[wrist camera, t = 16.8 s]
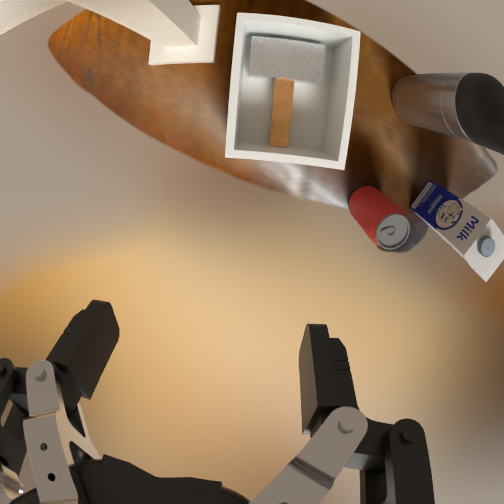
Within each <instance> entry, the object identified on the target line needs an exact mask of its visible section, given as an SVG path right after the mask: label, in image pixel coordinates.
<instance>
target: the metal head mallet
mask: <svg viewBox="0 0 504 504" xmlns="http://www.w3.org/2000/svg"><path fill="white" fill-rule="evenodd" d="M324 58H325V45H320V44H314V43H309V42H302V41H296V40H289V39H280V38H271V37H260V36H252V39H251V50H250V61H249V72H248V76H249V78H256V79H268V80H274V89H273V100H272V111H271V121H270V132H269V142H268V144H269V146H275V147H285V148H288V141H289V131H290V122H291V112H292V102H293V92H294V83H301V84H308V85H314V86H317V85H320V84H322V80H323V69H324Z"/></svg>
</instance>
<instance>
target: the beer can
mask: <svg viewBox="0 0 504 504" xmlns="http://www.w3.org/2000/svg"><path fill="white" fill-rule="evenodd" d="M349 210H350V213H351V215H352V216H353V217H354V218H355V220H356V221H357V222H358V224H359V225H360V226H361V227H362V229H363V230H364V231H365V233H366V234H367V235H368V237H369V238H370V239H371V240H372V241H373V242H374V243H375V244H377V245H379V246H381V247H382V248H384V249H389V250H391V249H395V248H397V247H399V246H401V245H402V244H403V243H404V242H405V241H406V239H407V238H408V235H409V232H410V225H409V221H408V220H407V218H406V215H405V213H404V212H403V210H402V209H401V208H400V207H399V206H398V205H396V204H395V203H394V202H393V201H391V200H390V199H389V198H388V197H387V196H385V195H384V194H383V193H382V192H380V191H379V190H378V189H376V188H375V187H372V186H362V187H360V188H358V189H357V190H356V191H355V192H353V194H352V196H351V197H350V201H349Z"/></svg>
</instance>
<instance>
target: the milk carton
mask: <svg viewBox="0 0 504 504" xmlns="http://www.w3.org/2000/svg"><path fill="white" fill-rule="evenodd" d="M410 208H411V209H412V210H413V211H414V212H415V213H416V214H417V215H418V216H419V217H420V218H421V219H422V220H423V221H424V222H425V223H426V224H427V225H428V226H429V227H431V228H432V229H433V230H434V231H435V232H436V233H437V234H438V235H439V236H441V237H442V238H443V239H444V240H445V241H446V242H447V243H448V244H449V245H450V246H451V247H452V248H454V250H456V251H457V252H458V253H459V254H460V255H461V256H462V257H463V258H464V259H465V260H466V261H467V262H468V263H469V265H470V266H471V267H472V268H473V269H474V270H475V271H476V272H477V273H478V274H479V275H480V276H481V277H482V278H483V280H484V281H485V282H486V281H487V280H488V279H489V278H490V276H491V275H492V274H493V273H494V271H495V270H496V269H497V267H498V266H499V265H500V263H501V262H502V261H503V259H504V235H503V233H502V232H501V230H500V229H499V228H498V226H497V225H496V224H495V222H494V221H493V220H492V219H490V218H489V217H487V216H486V215H484V214H483V213H482V212H480V211H479V210H477V209H476V208H474V207H473V206H471V205H470V204H468V203H466V202H465V201H464V200H462V199H460V198H459V197H457V196H456V195H454V194H452V193H451V192H449V191H447V190H446V189H444V188H442V187H441V186H439V185H437V184H436V183H434V182H432V181H430V180H429V181H428V182H427V184H426V185H425V186H424V188H423V189H422V191H421V192H420V193H419V195H418V196H417V197H416V199H415V200H414V201H413V203H412V204H411V205H410Z"/></svg>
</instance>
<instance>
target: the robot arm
mask: <svg viewBox="0 0 504 504" xmlns="http://www.w3.org/2000/svg"><path fill="white" fill-rule="evenodd" d="M392 104H393V107H394V110H395V112H396V113H397V115H398V116H399V117H400V119H401V120H403V121H404V122H405V123H407V124H409V125H412V126H416V127H420V128H424V129H428V130H432V131H435V132H439V133H443V134H446V135H450V136H453V137H457V138H460V139H464V140H467V141H470V142H473V143H476V144H478V145H481V146H484V147H486V148H489V149H491V150H494V151H496V152H499V153H501V154H503V155H504V87H503V85H502V84H501V83H500V82H499V81H498V80H497V79H496V78H494V77H492V76H490V75H488V74H484V73H435V74H418V75H408V76H404V77H401V78H400V79H398V80H397V82H396V83H395V84H394V87H393V89H392ZM118 339H119V326H118V323H117V321H116V317H115V315H114V312H113V309H112V306H111V304H110V303H109V302H105V301H99V300H92V301H91V302H90V304H89V305H88V306H87V308H86V309H85V310H81V311H80V312H79V313H78V314H76V315H75V316H74V317H73V318H72V320H71V321H70V323H69V324H68V327H66V329H65V330H64V333H63V334H62V335H61V336H60V338H59V340H58V341H57V343H56V344H55V346H54V347H53V349H52V350H51V352H50V354H49V355H48V357H47V358H46V360H38V361H36V362H34V363H32V364H31V365H30V366H29V368H20V367H15V366H14V365H13V363H12V362H11V361H10V360H9V359H7V358H2V359H0V419H1V416H2V413H3V411H4V409H5V407H6V405H7V402H8V400H10V401H11V402H12V403H13V406H12V408H11V410H10V413H9V415H8V417H7V420H6V422H5V425H4V427H2V426H1V422H0V504H319V503H320V502H321V500H322V499H323V498H324V497H325V496H326V494H327V493H328V492H329V490H330V489H331V487H332V486H333V482H334V480H335V479H336V477H337V476H338V474H339V473H340V472H341V470H342V469H343V467H347V468H353V469H358V470H360V502H361V504H435V502H434V491H433V482H432V474H431V467H430V461H429V455H428V449H427V443H426V438H425V433H424V430H423V428H422V427H421V425H420V424H419V423H418V422H416V421H414V420H412V419H402V420H399V421H397V422H396V423H395V424H394V425H392V424H386V423H381V422H376V421H373V420H370V419H368V418H367V417H365V415H364V414H363V413H362V412H361V411H360V410H359V408H358V406H357V401H356V396H355V391H354V385H353V380H352V375H351V371H350V366H349V362H348V357H347V352H346V348H345V346H344V345H343V344H342V342H341V341H340V340H339V338H329V333H328V328H327V325H326V324H307V325H306V328H305V332H304V336H303V340H302V343H301V347H300V352H299V371H300V388H301V389H300V391H301V409H302V410H301V411H302V434H310V437H311V439H310V441H309V442H308V443H307V444H306V445H305V446H304V448H303V449H302V450H301V451H300V452H299V454H298V455H297V456H296V457H295V458H294V459H293V460H292V461H291V462H290V463H289V464H288V465H287V466H286V467H285V468H284V469H283V470H282V471H281V472H280V473H279V474H278V475H277V476H276V478H274V479H273V480H272V482H271V483H270V484H269V485H268V486H267V487H266V488H265V489H264V490H262V492H260V493H259V495H257V496H256V497H255V498H254V499H253V500H252V501H251V502H250V501H249V500H248V499H247V498H245V497H244V496H242V495H241V494H239V493H237V492H236V491H233V490H231V489H229V488H226V487H223V486H222V482H219V481H211V480H204V479H198V478H192V477H183V478H159V477H155V476H153V475H151V474H149V473H147V472H145V471H143V470H142V469H140V468H138V467H136V466H135V465H133V464H131V463H129V462H126V461H123V460H120V459H116V458H114V457H111V456H108V455H105V454H104V455H103V458H102V459H101V457H100V455H99V453H98V451H97V450H96V448H95V447H94V445H93V443H92V442H91V439H90V436H89V433H88V430H87V426H86V423H85V420H84V416H83V412H82V409H81V405H80V403H79V400H80V398H81V397H84V398H87V399H89V400H90V399H91V397H92V395H93V392H94V390H95V388H96V386H97V384H98V381H99V379H100V377H101V375H102V373H103V371H104V368H105V366H106V364H107V362H108V360H109V358H110V356H111V354H112V352H113V350H114V348H115V346H116V344H117V342H118ZM26 451H27V452H28V457H29V462H30V466H31V470H32V474H33V478H34V482H35V485H36V488H34V489H32V490H30V491H28V492H26V493H25V494H23V495H20V493H22V492H23V491H24V486H23V484H22V483H21V482H20V481H19V478H18V477H19V473H20V470H21V467H22V463H23V460H24V457H25V454H26Z"/></svg>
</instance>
